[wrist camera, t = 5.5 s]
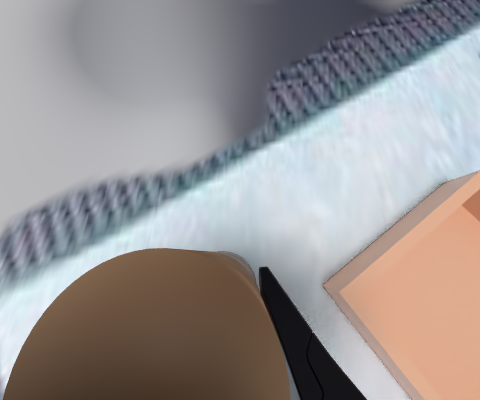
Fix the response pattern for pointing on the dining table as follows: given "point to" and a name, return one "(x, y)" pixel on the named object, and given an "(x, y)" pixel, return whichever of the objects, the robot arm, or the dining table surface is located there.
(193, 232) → the dining table surface
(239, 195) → the dining table surface
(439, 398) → the bin
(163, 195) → the dining table surface
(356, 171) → the dining table surface
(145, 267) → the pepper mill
